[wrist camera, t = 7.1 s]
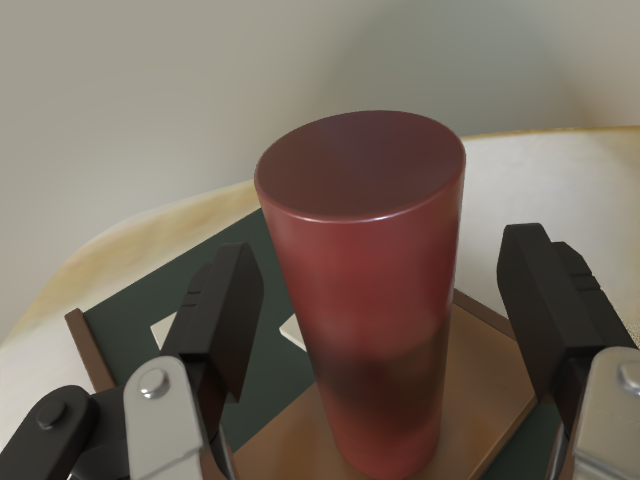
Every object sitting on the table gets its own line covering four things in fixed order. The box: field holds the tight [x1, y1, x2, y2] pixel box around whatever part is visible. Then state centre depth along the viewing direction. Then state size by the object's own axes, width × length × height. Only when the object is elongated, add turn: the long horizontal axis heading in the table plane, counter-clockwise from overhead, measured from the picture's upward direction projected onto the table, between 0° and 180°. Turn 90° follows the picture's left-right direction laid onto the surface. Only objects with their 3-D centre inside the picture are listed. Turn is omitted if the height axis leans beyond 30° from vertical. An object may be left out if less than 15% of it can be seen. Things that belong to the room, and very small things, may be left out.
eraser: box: [233, 110, 538, 480], centre depth 10 cm, size 11×6×12 cm, turn 131°
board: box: [64, 207, 561, 480], centre depth 18 cm, size 15×22×2 cm
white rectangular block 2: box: [279, 313, 307, 352], centre depth 19 cm, size 4×2×1 cm, turn 139°
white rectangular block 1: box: [151, 312, 177, 350], centre depth 20 cm, size 4×2×1 cm, turn 125°
